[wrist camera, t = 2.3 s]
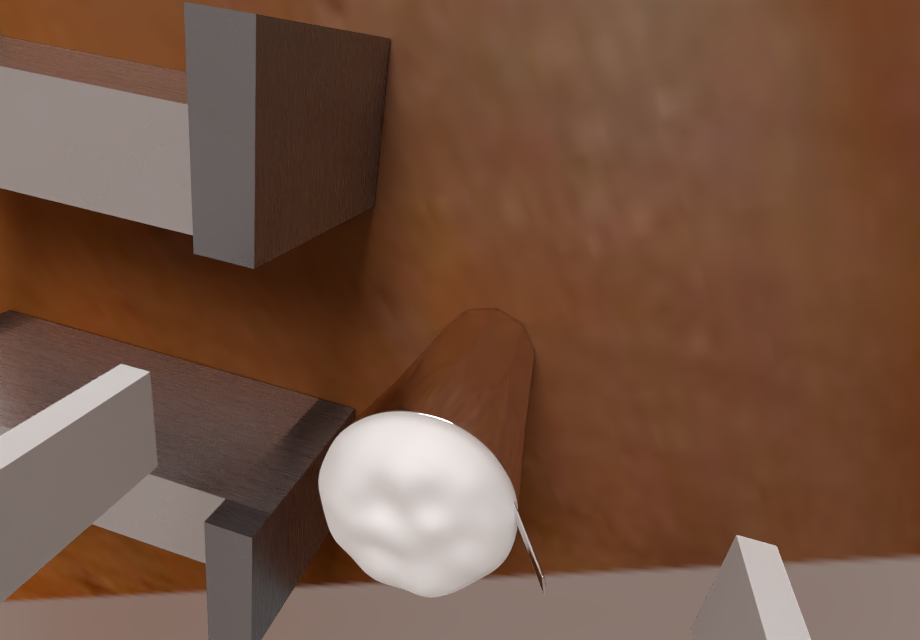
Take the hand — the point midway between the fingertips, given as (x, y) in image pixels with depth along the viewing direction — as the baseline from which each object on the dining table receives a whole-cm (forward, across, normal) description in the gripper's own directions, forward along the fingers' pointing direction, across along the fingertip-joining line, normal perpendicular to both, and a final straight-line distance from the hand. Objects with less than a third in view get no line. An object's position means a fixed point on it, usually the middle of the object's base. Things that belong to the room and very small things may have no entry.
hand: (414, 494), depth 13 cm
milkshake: (+8, -1, 0) cm, 8 cm away
